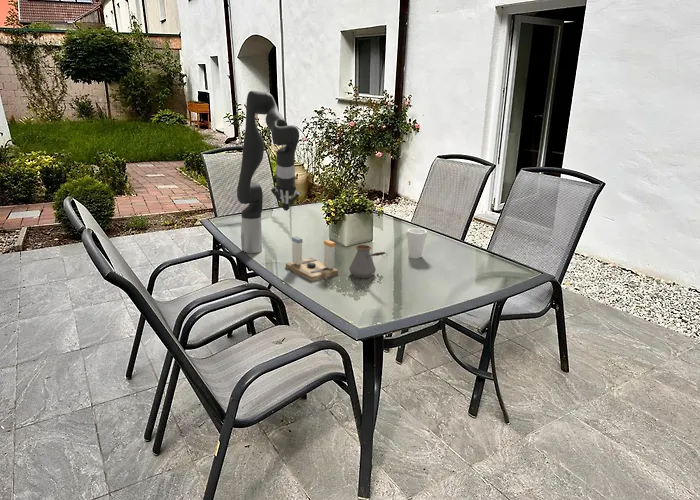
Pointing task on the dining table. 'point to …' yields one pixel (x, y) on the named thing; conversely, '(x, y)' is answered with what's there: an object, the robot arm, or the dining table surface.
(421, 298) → the dining table surface
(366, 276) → the coffee pot
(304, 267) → the light wood flat block
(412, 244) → the foam cup
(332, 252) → the orange topped white block
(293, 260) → the grey topped white block
